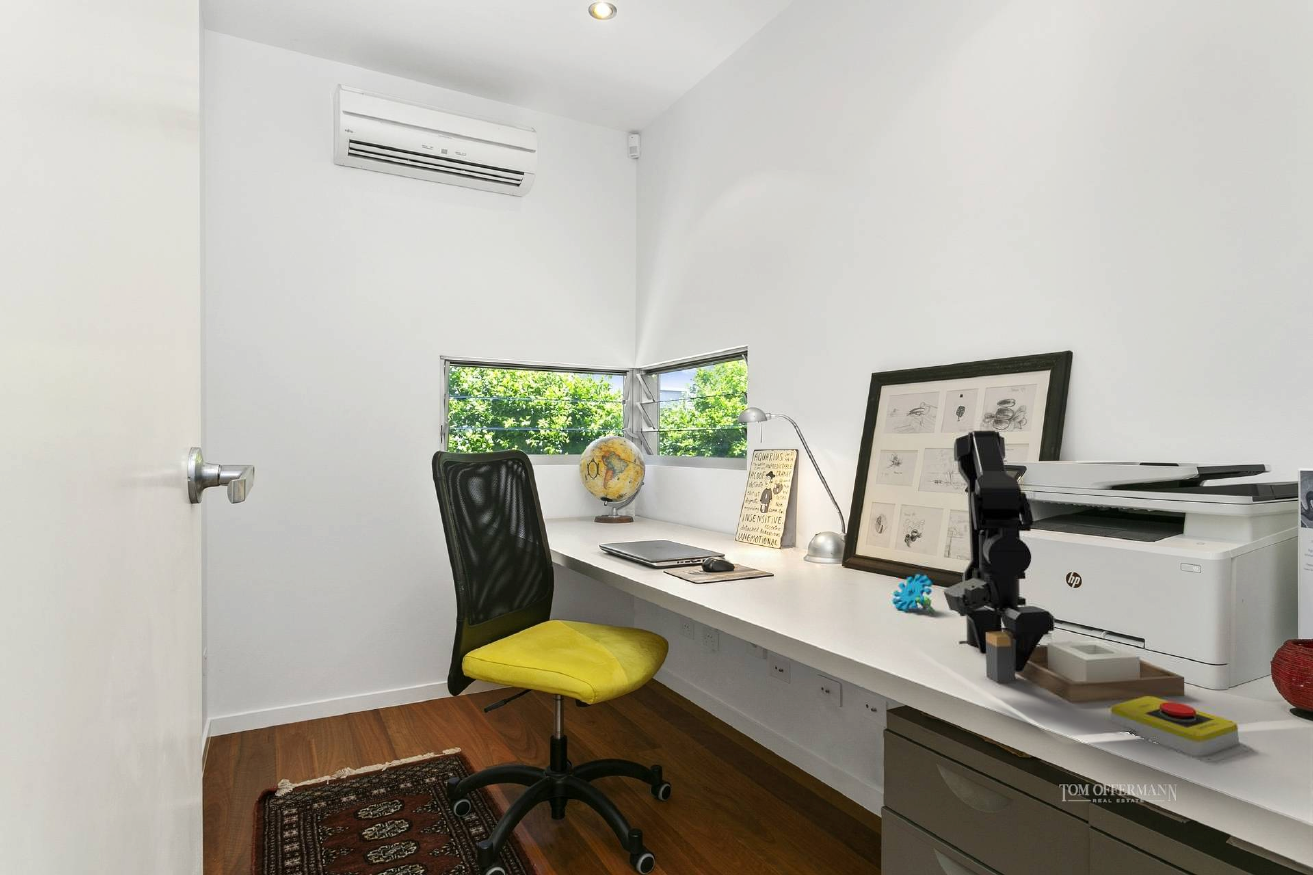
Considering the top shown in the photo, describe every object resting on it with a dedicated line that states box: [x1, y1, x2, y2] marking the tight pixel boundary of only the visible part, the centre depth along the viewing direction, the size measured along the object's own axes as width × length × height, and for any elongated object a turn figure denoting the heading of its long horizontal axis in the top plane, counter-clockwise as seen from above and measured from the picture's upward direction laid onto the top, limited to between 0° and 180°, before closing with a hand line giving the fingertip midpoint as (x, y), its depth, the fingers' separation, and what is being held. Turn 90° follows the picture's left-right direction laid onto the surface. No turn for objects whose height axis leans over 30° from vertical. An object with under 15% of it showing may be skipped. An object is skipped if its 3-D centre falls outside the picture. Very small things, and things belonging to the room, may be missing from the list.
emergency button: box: [1110, 696, 1253, 764], centre depth 96 cm, size 9×4×15 cm
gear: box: [891, 573, 936, 614], centre depth 165 cm, size 11×6×10 cm
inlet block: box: [1046, 639, 1141, 682], centre depth 117 cm, size 9×9×4 cm
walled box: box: [1015, 644, 1186, 704], centre depth 115 cm, size 18×18×4 cm
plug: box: [985, 630, 1016, 684], centre depth 116 cm, size 3×3×8 cm
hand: (1000, 661), depth 116 cm, fingers open, 9 cm apart
